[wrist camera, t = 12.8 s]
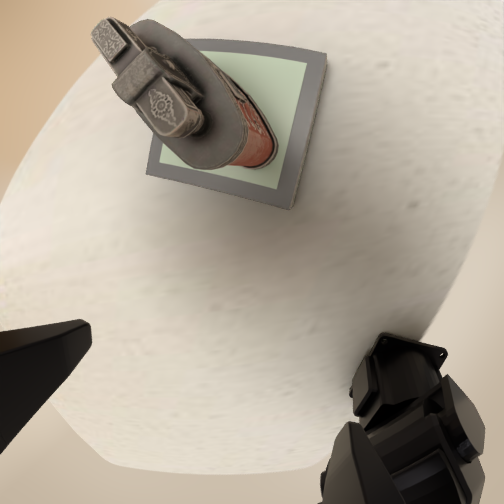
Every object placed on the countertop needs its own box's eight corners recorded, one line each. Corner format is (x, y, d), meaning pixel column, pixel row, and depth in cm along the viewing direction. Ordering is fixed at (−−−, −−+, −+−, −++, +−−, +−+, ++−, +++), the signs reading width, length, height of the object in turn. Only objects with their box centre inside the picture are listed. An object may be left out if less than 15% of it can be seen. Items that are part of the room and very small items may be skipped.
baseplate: (327, 64, 16) (326, 52, 14) (292, 206, 19) (288, 210, 17) (190, 48, 18) (177, 38, 16) (160, 173, 21) (144, 174, 19)
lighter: (292, 147, 16) (245, 117, 7) (246, 181, 17) (153, 197, 8) (213, 54, 16) (117, -19, 6) (174, 88, 17) (60, 46, 7)
